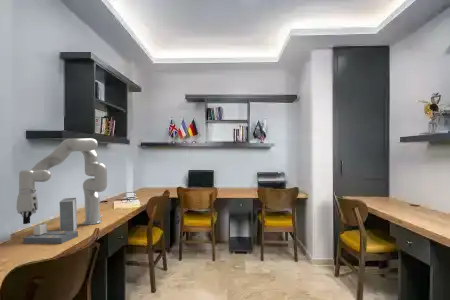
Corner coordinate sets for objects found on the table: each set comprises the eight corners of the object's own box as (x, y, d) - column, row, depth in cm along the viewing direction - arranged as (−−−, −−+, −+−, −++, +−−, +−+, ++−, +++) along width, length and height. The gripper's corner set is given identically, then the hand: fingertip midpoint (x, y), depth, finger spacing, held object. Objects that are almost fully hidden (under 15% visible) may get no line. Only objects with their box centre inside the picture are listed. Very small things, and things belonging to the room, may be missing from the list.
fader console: (42, 235, 172) (42, 230, 172) (78, 236, 169) (78, 230, 169) (23, 243, 158) (23, 237, 158) (61, 243, 155) (61, 237, 155)
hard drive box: (64, 228, 188) (63, 198, 189) (77, 227, 191) (76, 197, 192) (59, 234, 174) (59, 201, 174) (73, 233, 177) (73, 200, 177)
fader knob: (40, 232, 167) (40, 223, 167) (46, 232, 167) (46, 223, 167) (33, 234, 162) (33, 225, 162) (40, 234, 161) (39, 225, 161)
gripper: (43, 190, 168) (43, 222, 168) (20, 190, 170) (20, 222, 170) (33, 192, 161) (33, 225, 160) (9, 192, 163) (9, 224, 162)
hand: (26, 223), depth 165 cm, fingers closed
